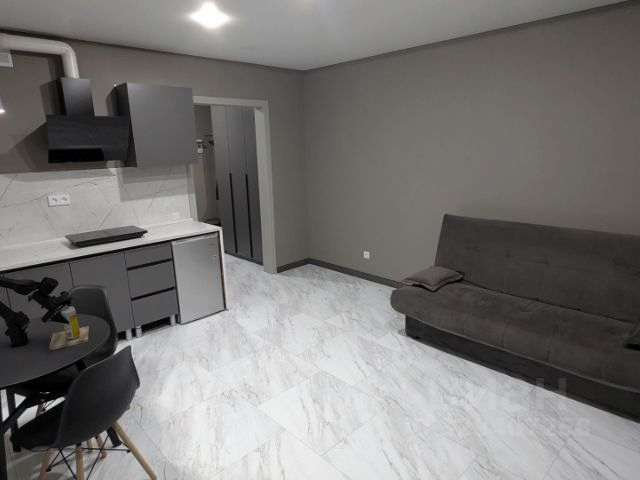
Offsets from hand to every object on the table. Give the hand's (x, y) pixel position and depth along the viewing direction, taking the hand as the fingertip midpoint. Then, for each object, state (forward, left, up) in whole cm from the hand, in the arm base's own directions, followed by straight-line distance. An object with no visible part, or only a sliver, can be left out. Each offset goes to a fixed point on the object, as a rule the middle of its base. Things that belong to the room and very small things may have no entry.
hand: (72, 320), depth 197 cm
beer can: (-1, +1, -9) cm, 9 cm away
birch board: (-3, +3, -11) cm, 12 cm away
